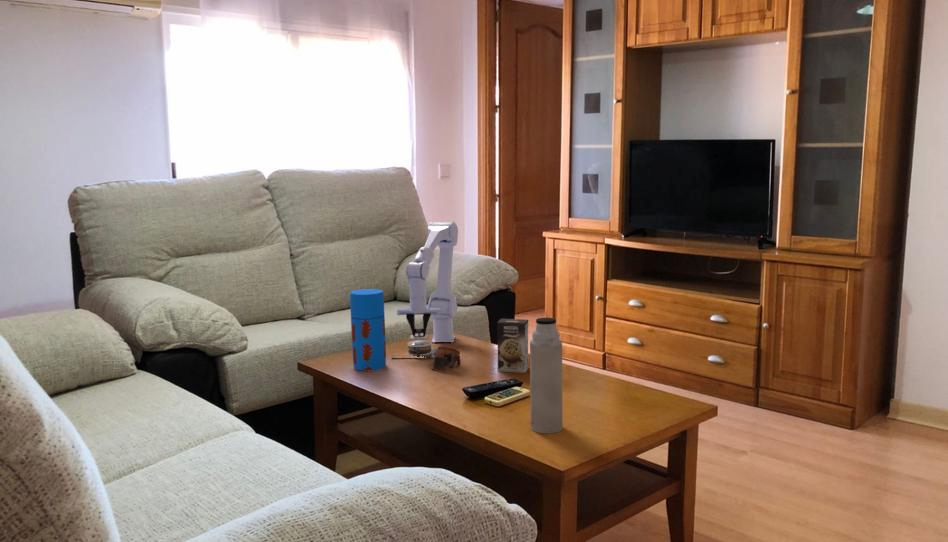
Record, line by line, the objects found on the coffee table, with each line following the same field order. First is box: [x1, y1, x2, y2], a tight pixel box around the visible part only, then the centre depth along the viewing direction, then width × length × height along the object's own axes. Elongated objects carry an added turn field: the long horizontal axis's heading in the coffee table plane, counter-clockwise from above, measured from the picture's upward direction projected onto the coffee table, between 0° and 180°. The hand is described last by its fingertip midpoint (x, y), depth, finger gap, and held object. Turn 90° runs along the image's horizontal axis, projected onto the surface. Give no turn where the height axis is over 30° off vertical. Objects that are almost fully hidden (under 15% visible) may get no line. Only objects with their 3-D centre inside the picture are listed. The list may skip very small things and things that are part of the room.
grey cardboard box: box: [497, 318, 529, 374], centre depth 249 cm, size 9×6×16 cm
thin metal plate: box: [391, 339, 438, 359], centre depth 272 cm, size 13×18×4 cm
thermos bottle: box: [529, 317, 564, 434], centre depth 194 cm, size 8×8×28 cm
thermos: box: [349, 288, 387, 372], centre depth 255 cm, size 11×11×25 cm
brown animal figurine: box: [431, 345, 461, 372], centre depth 253 cm, size 12×10×8 cm
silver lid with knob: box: [409, 327, 429, 341], centre depth 272 cm, size 6×6×3 cm
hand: (419, 335), depth 272 cm, fingers closed on silver lid with knob, 3 cm apart
